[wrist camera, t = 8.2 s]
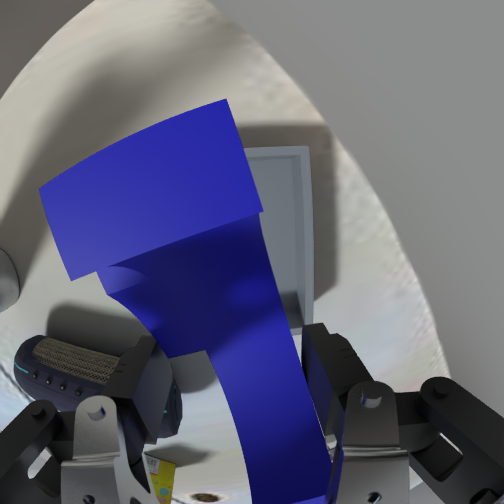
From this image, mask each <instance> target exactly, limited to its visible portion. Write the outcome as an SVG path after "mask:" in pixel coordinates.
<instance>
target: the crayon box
mask: <svg viewBox="0 0 504 504" xmlns="http://www.w3.org/2000/svg"><path fill="white" fill-rule="evenodd" d="M145 457H146V461H147V465H148V469H149V473H150V477H151V480H152V484H153V488H154V491H155V494H156V497H157V500H158V502H159V503H160V504H170V503H171V497H172V490H173V482H174V474H175V467H176V464H174V463H170V462H166V461H163V460H160V459H157V458H154V457H151V456H148V455H145Z"/></svg>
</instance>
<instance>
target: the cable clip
mask: <svg viewBox="0 0 504 504" xmlns="http://www.w3.org/2000/svg"><path fill="white" fill-rule="evenodd" d="M39 192H40V196H41V199H42V203H43V206H44V210H45V213H46V216H47V219H48V222H49V226H50V229H51V231H52V234H53V237H54V240H55V243H56V245H57V248H58V251H59V253H60V256H61V258H62V261H63V263H64V266H65V268H66V271H67V273H68V275H69V277H70V280H71V281H73V280H75V279H78V278H80V277H83V276H85V275H88V274H90V273H93V272H95V271H96V272H97V274H98V276H99V279H100V281H101V283H102V285H103V287H104V289H105V292H106V294H107V295H108V296H110V297H112V298H113V299H115V300H116V301H118V302H120V303H121V304H122V305H123V306H125V307H126V308H127V309H128V310H130V311H131V312H132V313H133V314H134V315H135V316H136V317H137V318H138V319H139V320H140V321H141V322H142V323H143V325H144V326H145V327H146V328H147V329H148V331H149V332H150V333H151V334H152V336H153V337H154V338H155V340H157V342H158V344H159V345H160V347H161V349H162V350H163V352H164V353H165V355H166V357H167V358H168V359H169V358H173V357H177V356H182V355H186V354H190V353H195V352H199V351H203V350H206V352H207V354H208V356H209V358H210V361H211V363H212V365H213V367H214V369H215V372H216V374H217V376H218V379H219V381H220V384H221V386H222V388H223V391H224V394H225V396H226V399H227V402H228V405H229V408H230V410H231V413H232V416H233V420H234V423H235V426H236V429H237V433H238V436H239V440H240V443H241V447H242V451H243V455H244V459H245V464H246V468H247V473H248V478H249V484H250V490H251V497H252V504H323V502H324V499H325V495H326V492H327V488H328V483H329V478H330V473H331V468H332V462H331V458H330V455H329V452H328V449H327V446H326V443H325V440H324V436H323V433H322V430H321V427H320V424H319V421H318V417H317V414H316V411H315V408H314V405H313V402H312V398H311V395H310V392H309V389H308V386H307V382H306V379H305V376H304V373H303V370H302V366H301V363H300V360H299V357H298V353H297V350H296V347H295V344H294V340H293V337H292V334H291V331H290V327H289V324H288V321H287V318H286V314H285V311H284V308H283V304H282V301H281V298H280V294H279V291H278V288H277V284H276V281H275V277H274V274H273V270H272V267H271V263H270V260H269V256H268V252H267V249H266V245H265V241H264V237H263V233H262V228H261V223H260V217H259V213H261V212H264V210H263V207H262V204H261V201H260V198H259V195H258V192H257V188H256V185H255V182H254V179H253V176H252V173H251V170H250V167H249V164H248V161H247V158H246V155H245V152H244V149H243V146H242V143H241V140H240V137H239V134H238V131H237V128H236V125H235V122H234V119H233V116H232V113H231V110H230V108H229V105H228V102H227V99H223V100H220V101H217V102H213V103H210V104H207V105H204V106H201V107H198V108H196V109H193V110H190V111H187V112H185V113H182V114H179V115H177V116H174V117H172V118H169V119H167V120H164V121H162V122H159V123H157V124H155V125H152V126H150V127H148V128H145V129H143V130H141V131H139V132H137V133H134V134H132V135H130V136H128V137H126V138H124V139H122V140H120V141H118V142H116V143H114V144H112V145H110V146H108V147H106V148H104V149H103V150H101V151H99V152H97V153H95V154H93V155H92V156H90V157H88V158H86V159H85V160H83V161H81V162H80V163H78V164H76V165H74V166H73V167H71V168H70V169H68V170H66V171H65V172H63V173H62V174H60V175H59V176H57V177H55V178H54V179H52V180H51V181H49V182H48V183H47V184H45V185H44V186H42V187H41V188H39Z"/></svg>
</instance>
